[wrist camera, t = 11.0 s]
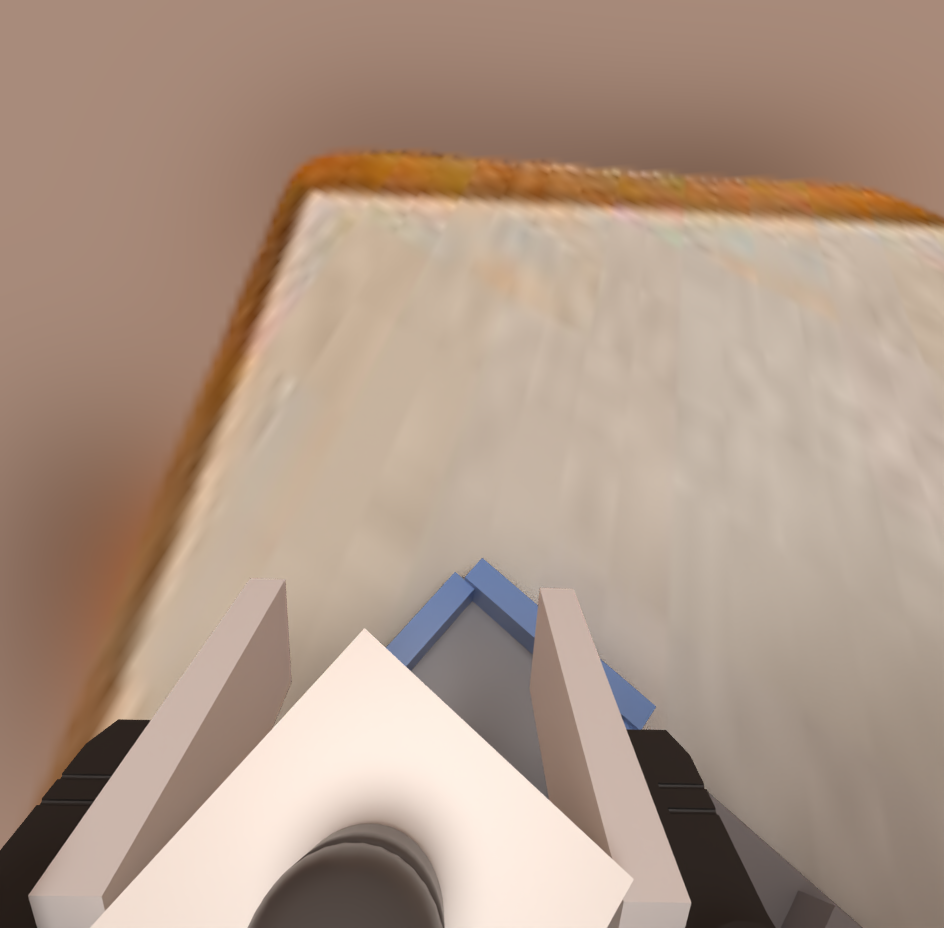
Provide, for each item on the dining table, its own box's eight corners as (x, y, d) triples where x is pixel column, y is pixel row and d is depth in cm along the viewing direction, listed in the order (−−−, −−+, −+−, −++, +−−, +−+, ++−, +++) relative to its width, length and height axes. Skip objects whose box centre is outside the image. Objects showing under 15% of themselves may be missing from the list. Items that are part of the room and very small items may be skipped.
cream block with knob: (402, 690, 15) (334, 579, 5) (519, 800, 14) (740, 951, 4) (288, 825, 13) (-158, 1078, 3) (410, 960, 12) (301, 1914, 2)
